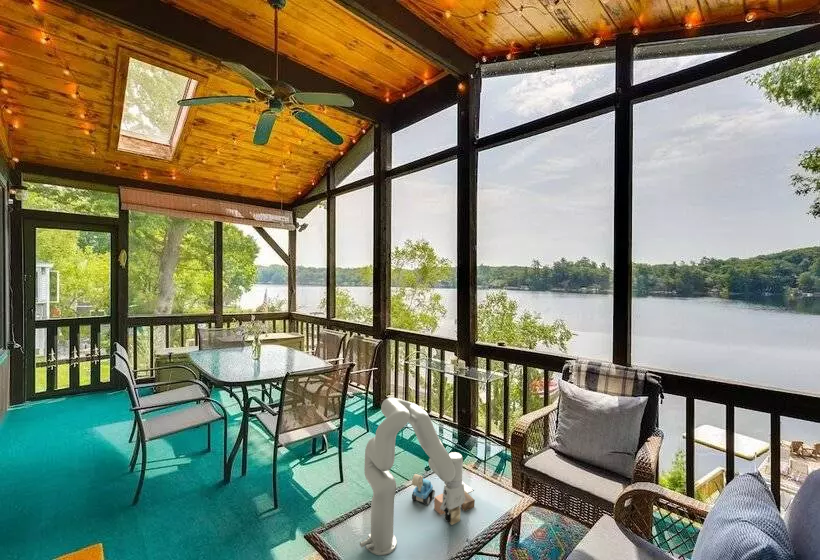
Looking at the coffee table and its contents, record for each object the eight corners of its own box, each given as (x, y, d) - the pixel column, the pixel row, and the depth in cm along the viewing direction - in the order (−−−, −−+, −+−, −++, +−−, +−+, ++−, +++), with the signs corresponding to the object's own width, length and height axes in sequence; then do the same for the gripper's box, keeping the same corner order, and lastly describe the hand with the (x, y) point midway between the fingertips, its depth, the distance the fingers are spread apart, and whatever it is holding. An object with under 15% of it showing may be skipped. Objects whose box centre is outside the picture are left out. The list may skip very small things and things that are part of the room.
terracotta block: (440, 514, 178) (441, 502, 178) (434, 508, 182) (434, 497, 182) (448, 511, 181) (449, 499, 181) (442, 505, 185) (442, 493, 185)
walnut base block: (464, 511, 181) (465, 503, 181) (456, 504, 186) (457, 496, 186) (474, 507, 184) (474, 499, 184) (466, 500, 189) (466, 492, 189)
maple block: (451, 525, 172) (452, 512, 171) (444, 518, 176) (445, 506, 175) (460, 520, 175) (460, 508, 174) (452, 514, 179) (453, 502, 178)
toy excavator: (405, 509, 182) (406, 474, 180) (420, 490, 196) (421, 458, 195) (421, 515, 178) (422, 480, 176) (435, 495, 192) (436, 463, 191)
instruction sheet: (456, 498, 191) (456, 497, 191) (445, 488, 198) (445, 488, 198) (473, 490, 197) (474, 489, 197) (462, 481, 205) (462, 481, 205)
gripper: (444, 491, 166) (443, 530, 167) (473, 478, 176) (471, 516, 177) (434, 482, 172) (433, 520, 173) (462, 471, 182) (460, 507, 183)
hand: (452, 518), depth 175 cm, fingers closed on maple block, 5 cm apart
